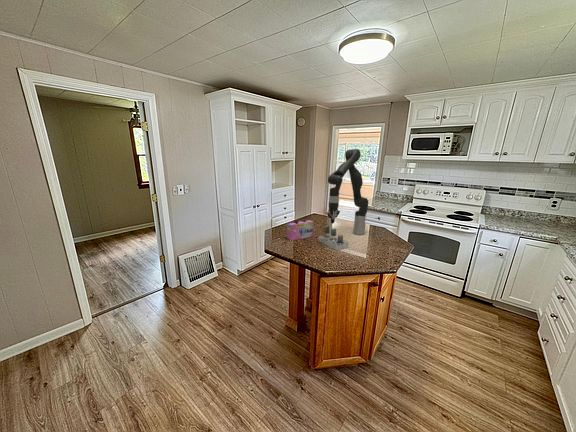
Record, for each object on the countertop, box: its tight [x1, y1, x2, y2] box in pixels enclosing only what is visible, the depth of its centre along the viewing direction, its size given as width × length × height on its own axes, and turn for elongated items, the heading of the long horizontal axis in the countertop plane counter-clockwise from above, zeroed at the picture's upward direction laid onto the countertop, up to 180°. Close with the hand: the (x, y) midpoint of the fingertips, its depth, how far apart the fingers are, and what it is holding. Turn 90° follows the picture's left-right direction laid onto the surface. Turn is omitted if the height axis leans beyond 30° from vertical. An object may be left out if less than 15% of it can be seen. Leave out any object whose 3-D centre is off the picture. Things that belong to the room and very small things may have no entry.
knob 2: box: [337, 234, 344, 243], centre depth 176 cm, size 4×4×5 cm
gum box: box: [286, 219, 315, 241], centre depth 198 cm, size 24×8×14 cm, turn 118°
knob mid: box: [330, 227, 337, 237], centre depth 182 cm, size 4×4×5 cm
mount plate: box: [317, 233, 350, 251], centre depth 184 cm, size 12×22×4 cm, turn 30°
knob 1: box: [324, 225, 331, 234], centre depth 189 cm, size 4×4×5 cm
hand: (332, 223), depth 182 cm, fingers closed
